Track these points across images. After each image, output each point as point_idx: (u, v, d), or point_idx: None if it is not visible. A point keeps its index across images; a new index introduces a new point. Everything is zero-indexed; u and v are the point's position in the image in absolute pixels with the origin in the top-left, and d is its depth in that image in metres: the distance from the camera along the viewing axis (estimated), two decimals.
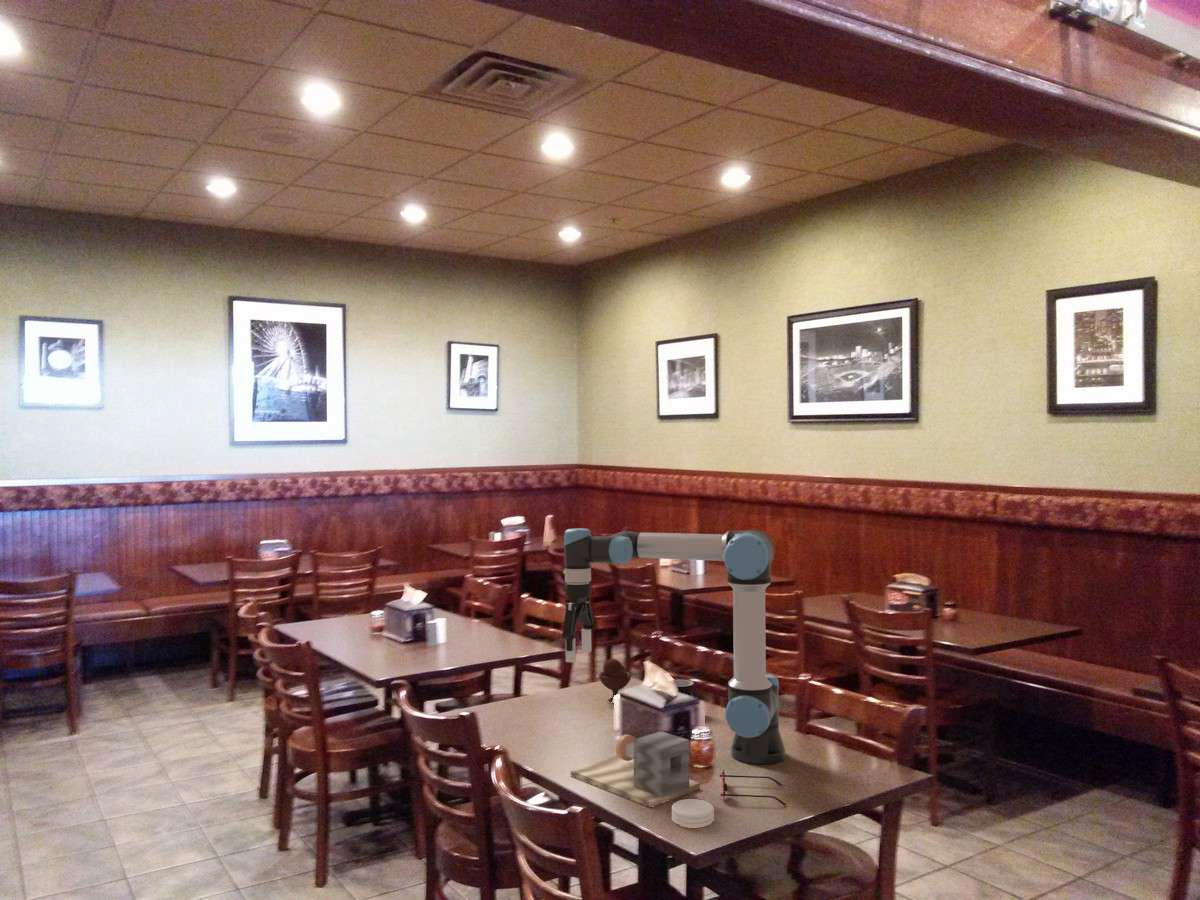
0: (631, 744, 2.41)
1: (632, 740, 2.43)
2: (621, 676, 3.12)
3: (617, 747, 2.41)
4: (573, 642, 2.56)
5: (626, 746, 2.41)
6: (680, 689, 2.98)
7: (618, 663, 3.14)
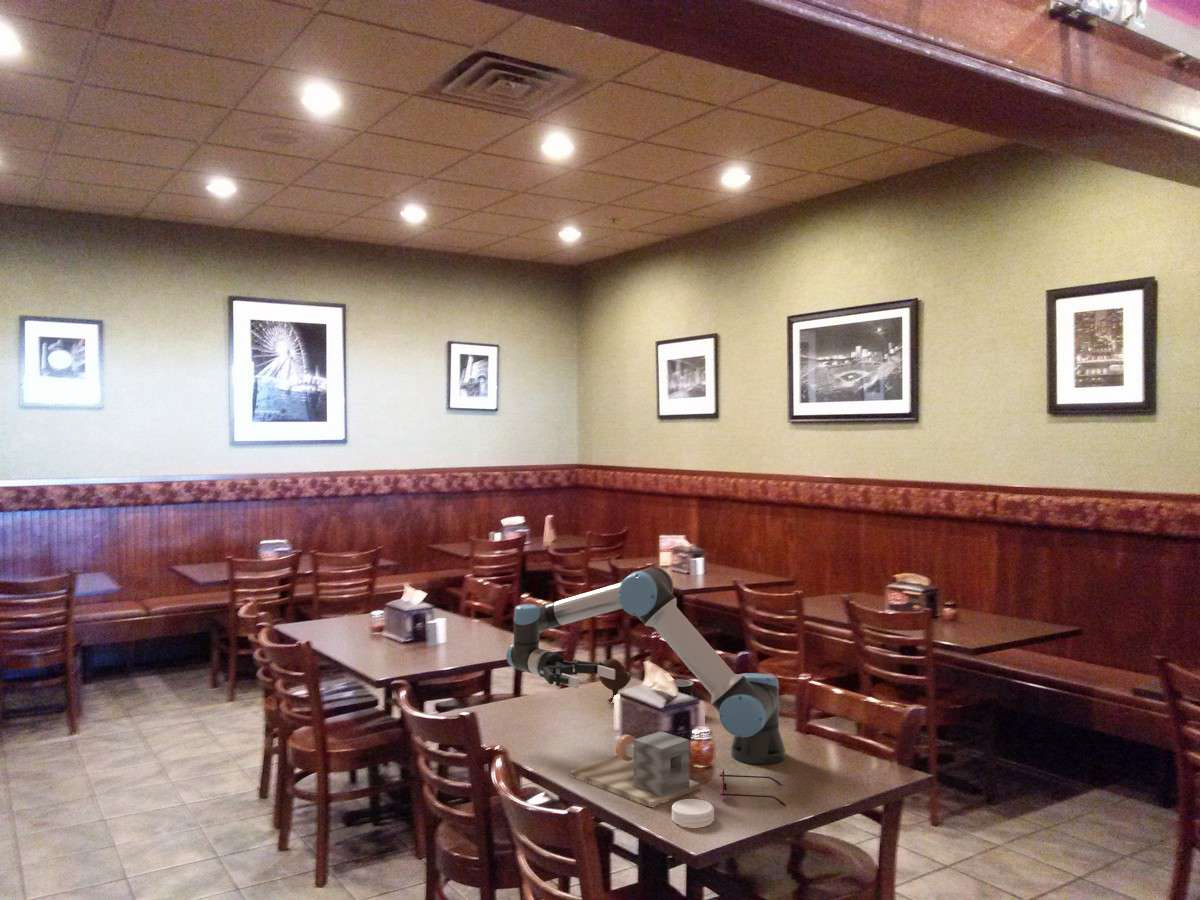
0: (631, 744, 2.41)
1: (632, 740, 2.43)
2: (621, 676, 3.12)
3: (617, 747, 2.41)
4: (563, 675, 2.51)
5: (626, 746, 2.41)
6: (680, 689, 2.98)
7: (618, 663, 3.14)
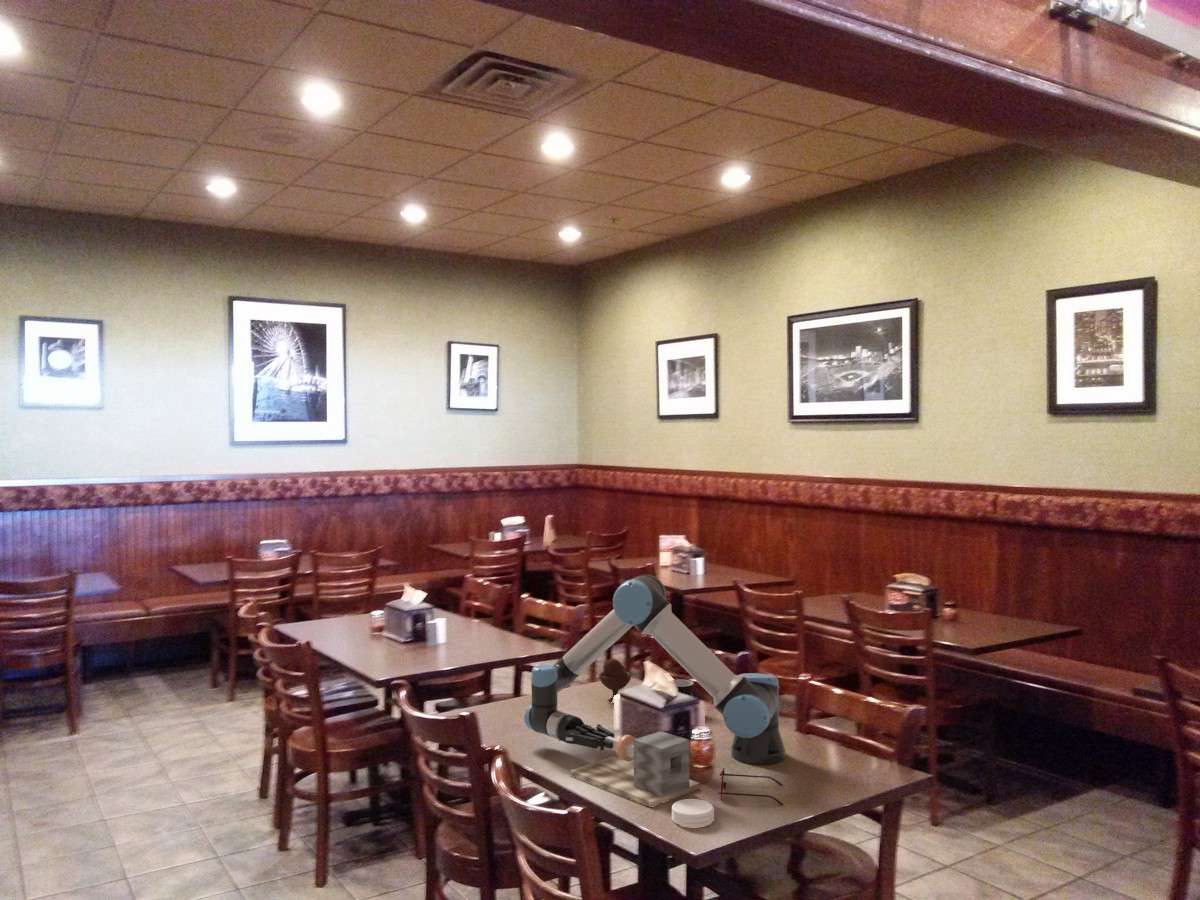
0: (632, 744, 2.41)
1: (633, 740, 2.43)
2: (621, 676, 3.12)
3: (618, 747, 2.41)
4: (607, 739, 2.47)
5: (627, 746, 2.41)
6: (680, 689, 2.98)
7: (618, 663, 3.14)
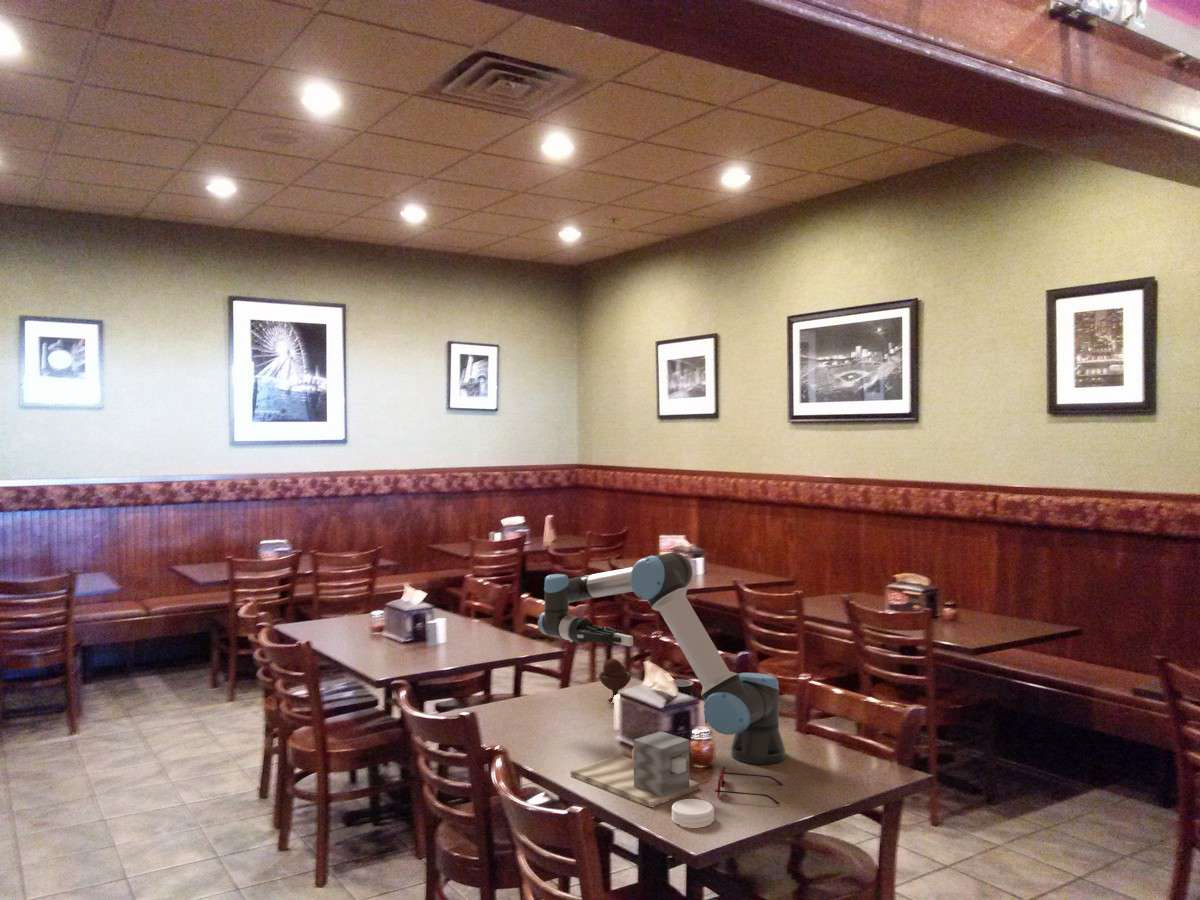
0: None
1: None
2: (621, 676, 3.12)
3: (633, 752, 2.37)
4: (615, 635, 2.68)
5: None
6: (680, 689, 2.98)
7: (618, 663, 3.14)
